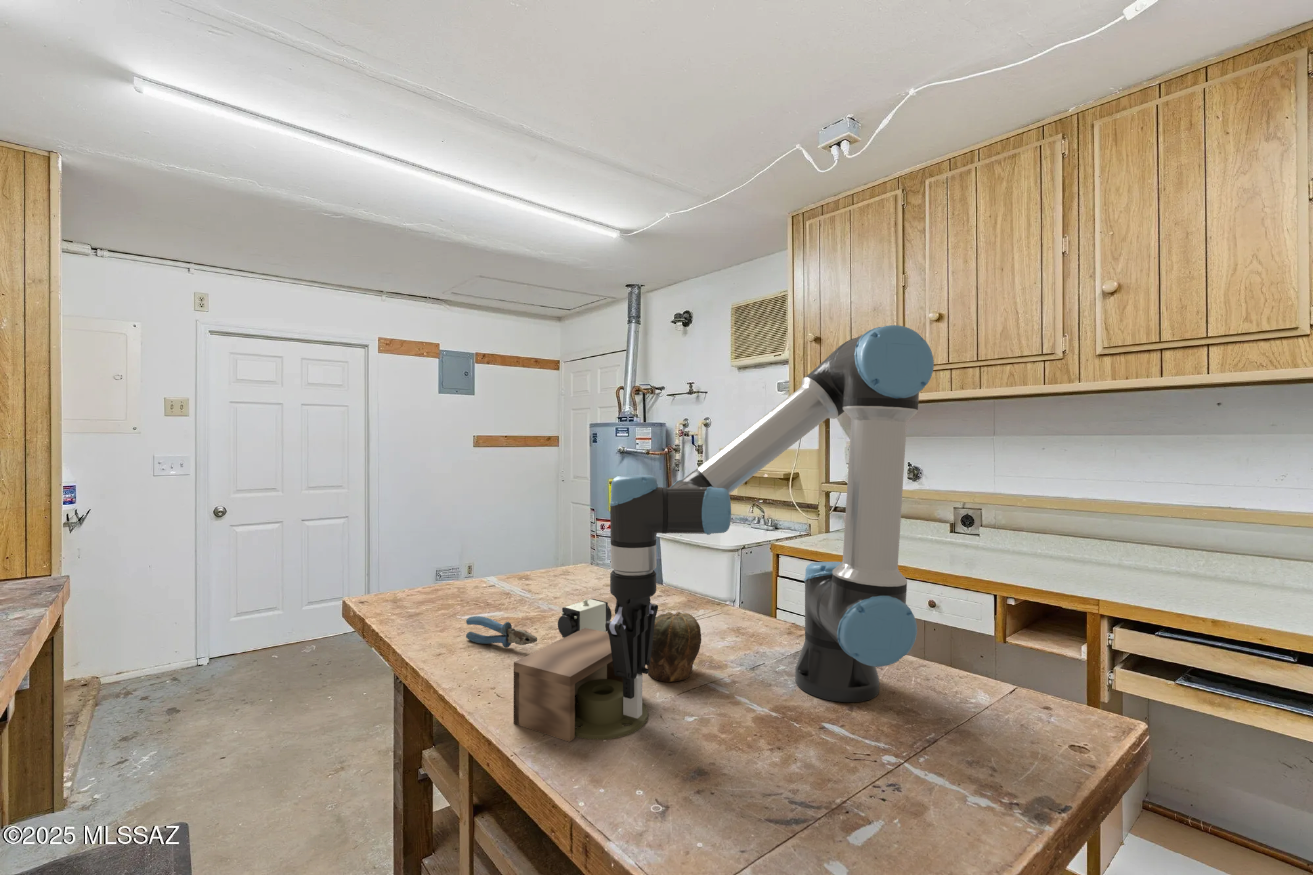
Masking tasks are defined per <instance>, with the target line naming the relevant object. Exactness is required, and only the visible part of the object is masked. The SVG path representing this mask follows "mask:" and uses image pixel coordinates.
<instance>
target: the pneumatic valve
mask: <svg viewBox="0 0 1313 875" xmlns="http://www.w3.org/2000/svg"><path fill="white" fill-rule="evenodd" d="M561 610H562V612H561V616H560V617H559V618H558V621H557V628H558V632H559V633H560V635H561V636H562V639H563V638H565V637H567V636H569V635H571V634H573V633H575V632H577V631H579V630H581V629H584V628H588V629H593V630H598V631H603V632H607V630H606V627H605V624H606V622H607V621H612V617H613V616H612V609H611V608H610V606H609V603H608V601H604V600H600V599H595V598H590V599H587V598H586V599H583V601H581V602H579V601H578V602H576V603H572V604H571V605H567V606H564V607H562V609H561Z"/></svg>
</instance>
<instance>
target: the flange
mask: <svg viewBox="0 0 1313 875" xmlns="http://www.w3.org/2000/svg"><path fill="white" fill-rule="evenodd" d="M648 712H649V711H648V707H647V706H646V704H645V703H644V702H643V701H642V715H641V716H640V717H639V718H634V717H630V716H627V715H623V683H622V682H620V681H617V680H611V679H598V680H593V681H589V682H586V683H584V684H582V685H581V686H580V687H579V688H578V691H577V695H576V697H575V738H576V737H577V738H579V739H585V740H586V739H587V740H596V741H597V740H598V741H599V740H601V741H602V740H610V739H611V740H612V739H618V738H621V737H625V736H629V735H631V734H633V733H635V732H636V731H638V730H639V729H641V728H642V727H643V726H644V725H645V724H646V722H647V721H646V720H648V716H649V715H648V714H649V713H648Z"/></svg>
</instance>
